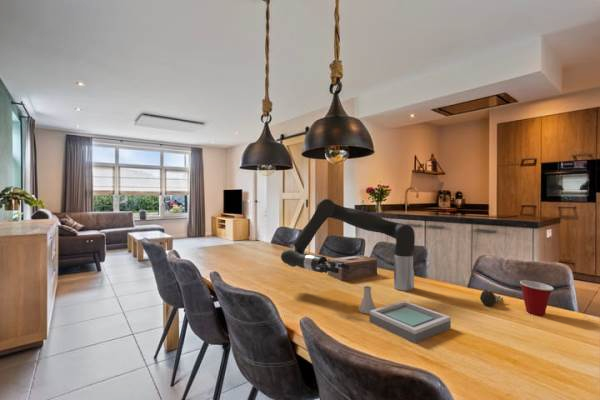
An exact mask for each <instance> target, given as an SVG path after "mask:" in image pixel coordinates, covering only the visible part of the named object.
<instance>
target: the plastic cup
mask: <svg viewBox="0 0 600 400" xmlns="http://www.w3.org/2000/svg"><path fill="white" fill-rule="evenodd" d="M519 283H520V287H521V290H522V296H523V301H524V306H525V310H526V313H527V312H528V313H527V314H529V313H530V314H529V315H532V314H533V315H532V316H536V315H538V317H545V315H546V311H547V307H548V303H549V300H550V296H551V293H552V291H554V287H553V286H552V285H549V284H546V283H543V282H538V281H533V280H532V281H531V280H525V279H524V280H520V281H519Z"/></svg>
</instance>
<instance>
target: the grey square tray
mask: <svg viewBox="0 0 600 400" xmlns="http://www.w3.org/2000/svg"><path fill="white" fill-rule="evenodd" d="M451 319H452V317H451V316H449V315H447V314H444V313H441V312H437V311H434V310H433V309H432V310H431V309H428V308H426V307H423V306H421V305H418V304H414V303H412V302H409V301H406V300H402V301H399V302H395V303H391V304H387V305H385V306H380V307H377V308H376V309H374V310H370V314H369V322H370V323H371V324H374V325H376V326H377V327H380V328H382V329H384V330H386V331H388V332H390V333H392V334H394V335H396V336H398V337H401V338H403V339H405V340H406V341H409V342H412V343H413V344H417V343H421V342H422V341H424V339H425V340H427V339H429V338H431V336H432V337H434V336H436V335H438V333H439V334H441V333H443V332H446V331H449V330H450V328H451V327H452V325H451Z"/></svg>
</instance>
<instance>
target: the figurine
mask: <svg viewBox="0 0 600 400" xmlns="http://www.w3.org/2000/svg"><path fill="white" fill-rule="evenodd" d="M479 298H480V302H481V303H483V305H484V306H487V307H492V306H493V305H495V304H496V302H499V303H501V302H502V301H504V297H501V296H500V295H497V294H494V292H493V291H491V290H487V289H485V290H483V291H481V294H480V297H479Z"/></svg>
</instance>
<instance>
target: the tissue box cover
mask: <svg viewBox="0 0 600 400" xmlns="http://www.w3.org/2000/svg"><path fill="white" fill-rule="evenodd" d="M334 260H335V261H340V262H344V264H348V265H350V269H349V270H347V269H340V268H339V273H334V272H327V276H329V277H332V278H334V279H336V280H339V281H340V282H342V281H344V282H345V281H349V280H357V279H364V278H368V277H369V278H370V277H376V276H378V259H377V258H373V257H369V256H367V255H363V254H361V255H360V254H359V255H352V256H351V255H350V256H342V257H334V258H328V259H327V261H334ZM340 266H341V264H340Z"/></svg>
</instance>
